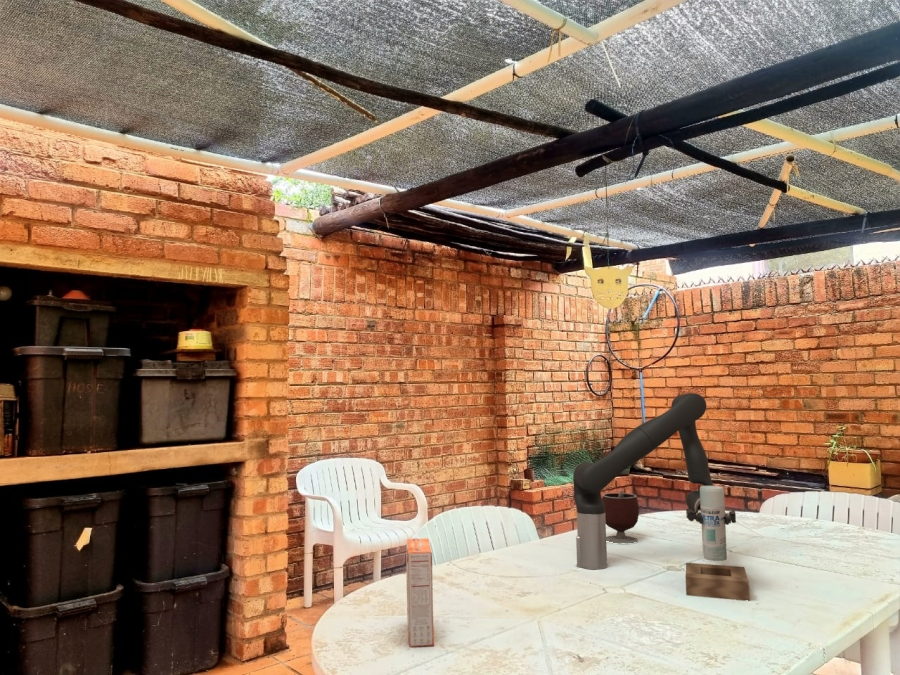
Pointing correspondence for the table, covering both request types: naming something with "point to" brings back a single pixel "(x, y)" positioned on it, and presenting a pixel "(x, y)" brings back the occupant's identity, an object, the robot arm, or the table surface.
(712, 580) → the walnut holder
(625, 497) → the mate gourd
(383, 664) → the table surface
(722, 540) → the spray paint can
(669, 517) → the table surface
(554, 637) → the table surface
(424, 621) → the cracker box
